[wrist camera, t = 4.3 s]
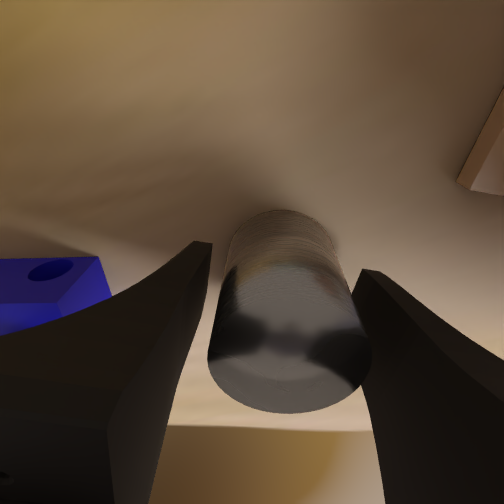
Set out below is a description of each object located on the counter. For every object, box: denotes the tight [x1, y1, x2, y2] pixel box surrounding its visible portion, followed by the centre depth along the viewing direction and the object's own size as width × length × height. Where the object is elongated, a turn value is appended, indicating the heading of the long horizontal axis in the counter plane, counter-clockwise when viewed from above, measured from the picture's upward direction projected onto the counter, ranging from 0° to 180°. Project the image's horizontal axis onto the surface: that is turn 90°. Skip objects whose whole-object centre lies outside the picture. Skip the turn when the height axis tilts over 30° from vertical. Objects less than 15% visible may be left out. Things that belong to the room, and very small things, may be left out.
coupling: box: [207, 210, 372, 414], centre depth 10 cm, size 4×4×5 cm
